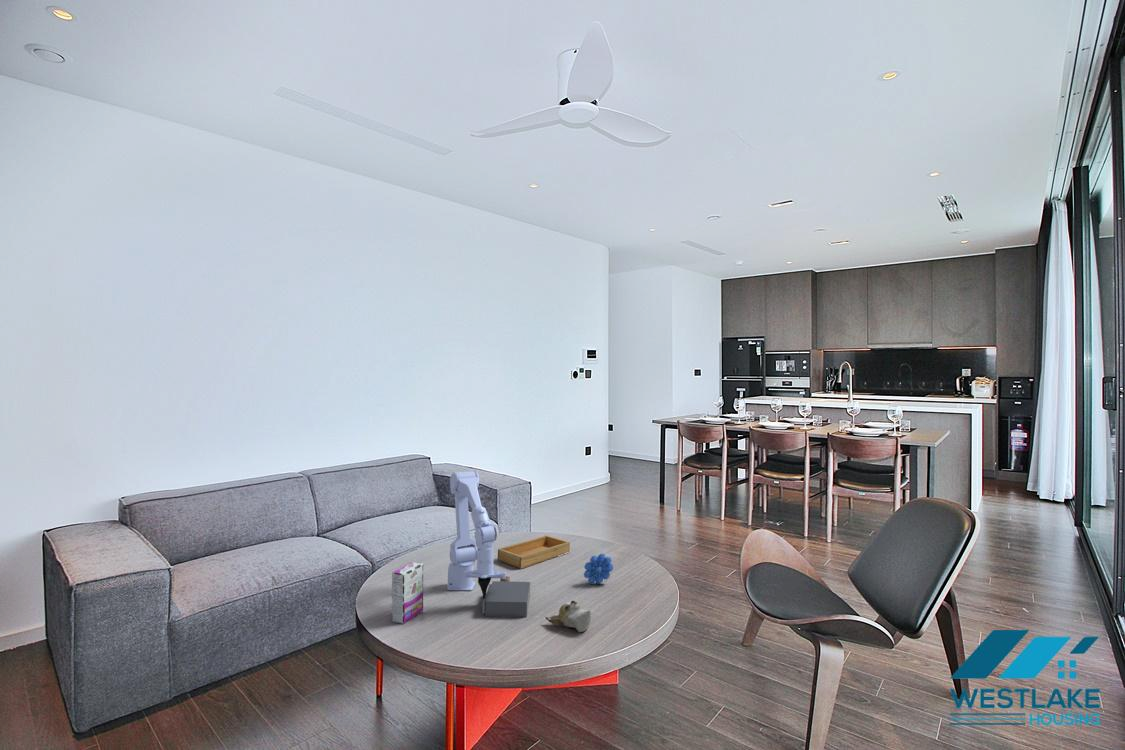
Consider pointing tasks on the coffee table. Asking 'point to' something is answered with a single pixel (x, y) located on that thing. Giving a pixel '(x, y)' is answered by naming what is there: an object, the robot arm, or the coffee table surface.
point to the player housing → (508, 599)
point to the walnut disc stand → (505, 579)
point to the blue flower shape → (598, 569)
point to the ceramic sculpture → (572, 617)
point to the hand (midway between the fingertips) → (484, 598)
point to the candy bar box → (407, 592)
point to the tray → (533, 551)
